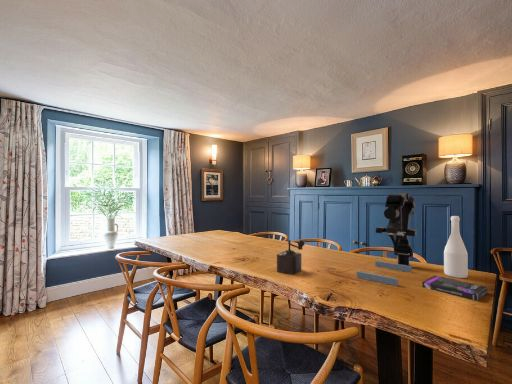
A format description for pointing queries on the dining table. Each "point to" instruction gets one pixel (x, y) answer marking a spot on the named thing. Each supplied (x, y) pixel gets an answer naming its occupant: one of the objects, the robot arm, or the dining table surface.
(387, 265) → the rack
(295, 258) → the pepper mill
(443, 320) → the dining table surface
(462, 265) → the wine bottle
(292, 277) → the dining table surface
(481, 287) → the box
